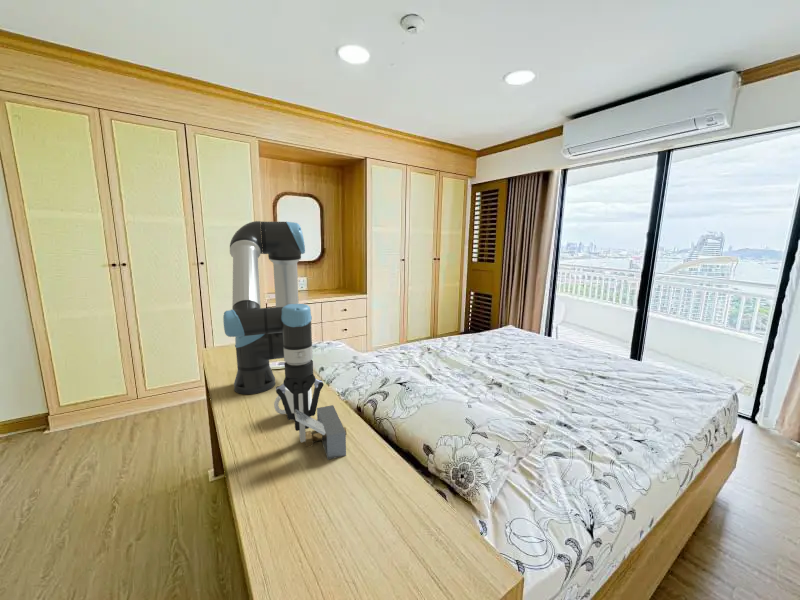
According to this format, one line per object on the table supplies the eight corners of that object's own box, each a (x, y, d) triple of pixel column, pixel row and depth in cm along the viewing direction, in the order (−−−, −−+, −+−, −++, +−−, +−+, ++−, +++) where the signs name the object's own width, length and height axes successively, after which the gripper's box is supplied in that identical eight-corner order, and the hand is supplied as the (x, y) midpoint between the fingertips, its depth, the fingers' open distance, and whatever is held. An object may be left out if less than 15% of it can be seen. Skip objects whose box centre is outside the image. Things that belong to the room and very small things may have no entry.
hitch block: (317, 429, 103) (316, 408, 102) (333, 425, 105) (333, 405, 104) (327, 459, 89) (326, 435, 87) (346, 455, 91) (345, 431, 89)
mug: (277, 426, 104) (275, 396, 103) (273, 415, 111) (271, 386, 110) (315, 417, 110) (314, 387, 108) (308, 406, 117) (307, 378, 116)
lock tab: (293, 411, 89) (295, 409, 89) (320, 425, 92) (322, 423, 92) (295, 420, 84) (297, 418, 84) (324, 435, 88) (325, 433, 88)
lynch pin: (306, 447, 94) (305, 439, 94) (304, 439, 98) (304, 432, 97) (347, 437, 99) (347, 430, 98) (344, 430, 102) (343, 423, 102)
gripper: (274, 368, 85) (279, 452, 89) (325, 362, 90) (327, 441, 94) (272, 359, 92) (277, 437, 96) (320, 353, 97) (323, 427, 101)
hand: (302, 439), depth 95 cm, fingers closed
